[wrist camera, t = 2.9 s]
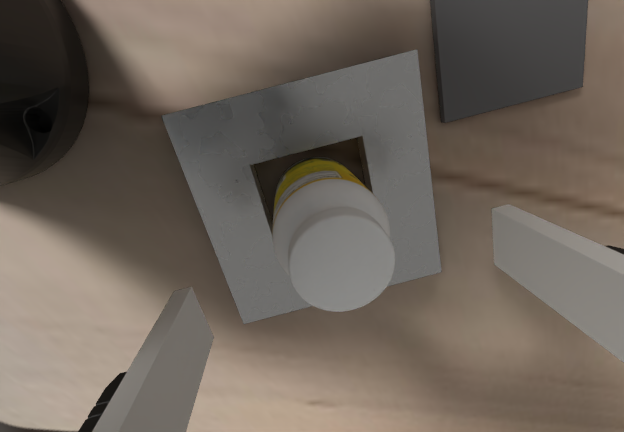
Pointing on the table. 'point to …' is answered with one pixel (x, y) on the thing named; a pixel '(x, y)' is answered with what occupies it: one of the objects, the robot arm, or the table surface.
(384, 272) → the pill bottle
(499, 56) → the rubber mat
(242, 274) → the housing plate
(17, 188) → the table surface
